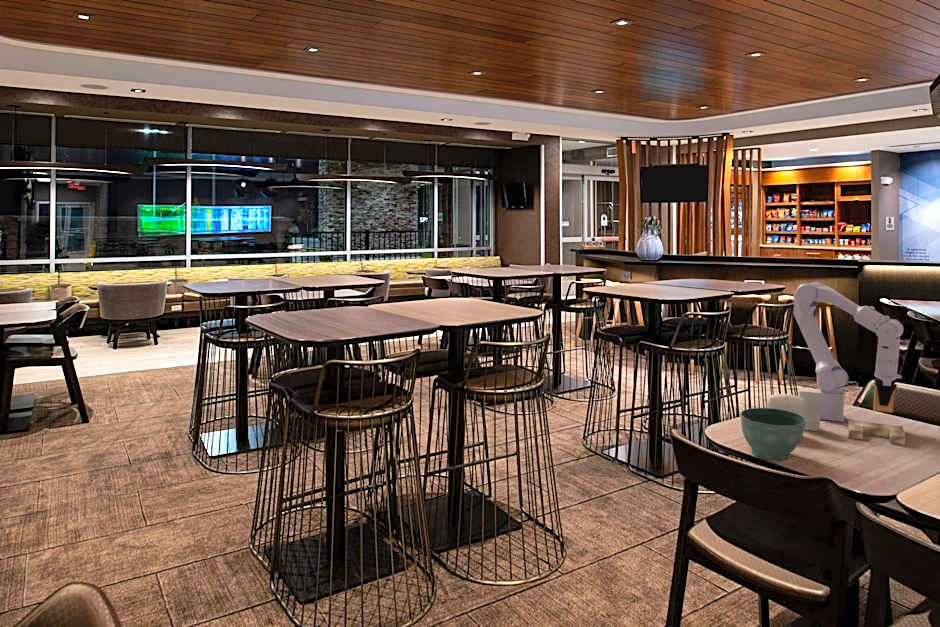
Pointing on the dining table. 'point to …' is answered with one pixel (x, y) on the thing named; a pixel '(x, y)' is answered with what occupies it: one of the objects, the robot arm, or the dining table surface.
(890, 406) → the orange brown rectangular block
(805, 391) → the skincare box
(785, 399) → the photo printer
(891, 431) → the notched board
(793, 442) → the green bowl
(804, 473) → the dining table surface
